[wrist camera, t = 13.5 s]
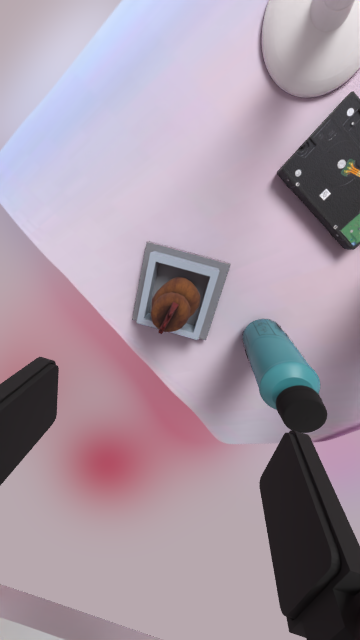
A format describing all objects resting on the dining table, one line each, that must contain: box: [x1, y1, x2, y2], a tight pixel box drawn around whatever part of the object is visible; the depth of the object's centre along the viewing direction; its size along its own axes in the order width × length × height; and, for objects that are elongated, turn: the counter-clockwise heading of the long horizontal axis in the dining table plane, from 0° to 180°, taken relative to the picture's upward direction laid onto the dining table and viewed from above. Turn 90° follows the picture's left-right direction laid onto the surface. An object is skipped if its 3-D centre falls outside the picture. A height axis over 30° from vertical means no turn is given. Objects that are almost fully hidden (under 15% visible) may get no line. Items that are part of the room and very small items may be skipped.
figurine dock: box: [132, 241, 230, 340], centre depth 37 cm, size 13×13×4 cm
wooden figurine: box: [151, 277, 200, 334], centre depth 31 cm, size 7×6×15 cm
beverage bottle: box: [242, 319, 327, 433], centre depth 30 cm, size 6×7×20 cm
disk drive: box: [277, 92, 360, 250], centre depth 30 cm, size 10×3×15 cm
